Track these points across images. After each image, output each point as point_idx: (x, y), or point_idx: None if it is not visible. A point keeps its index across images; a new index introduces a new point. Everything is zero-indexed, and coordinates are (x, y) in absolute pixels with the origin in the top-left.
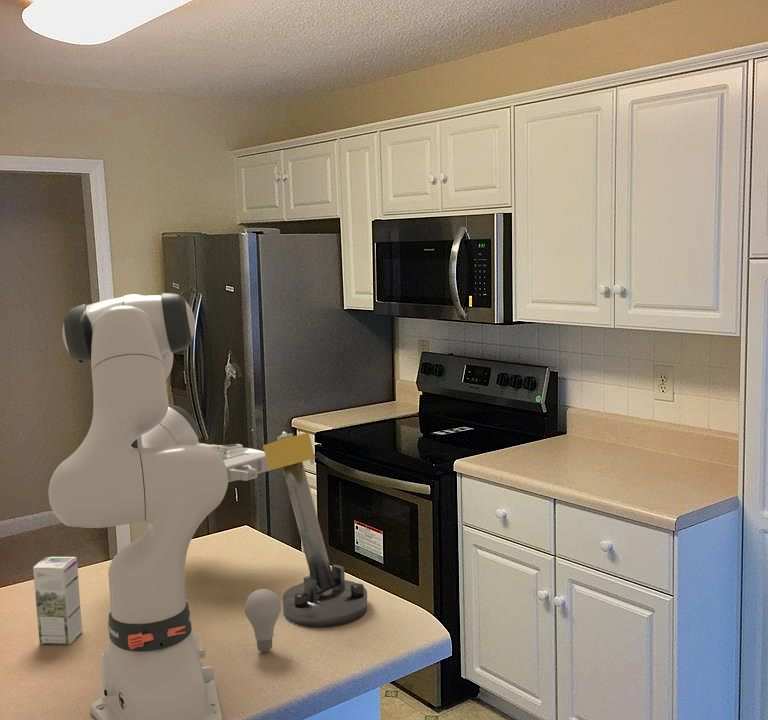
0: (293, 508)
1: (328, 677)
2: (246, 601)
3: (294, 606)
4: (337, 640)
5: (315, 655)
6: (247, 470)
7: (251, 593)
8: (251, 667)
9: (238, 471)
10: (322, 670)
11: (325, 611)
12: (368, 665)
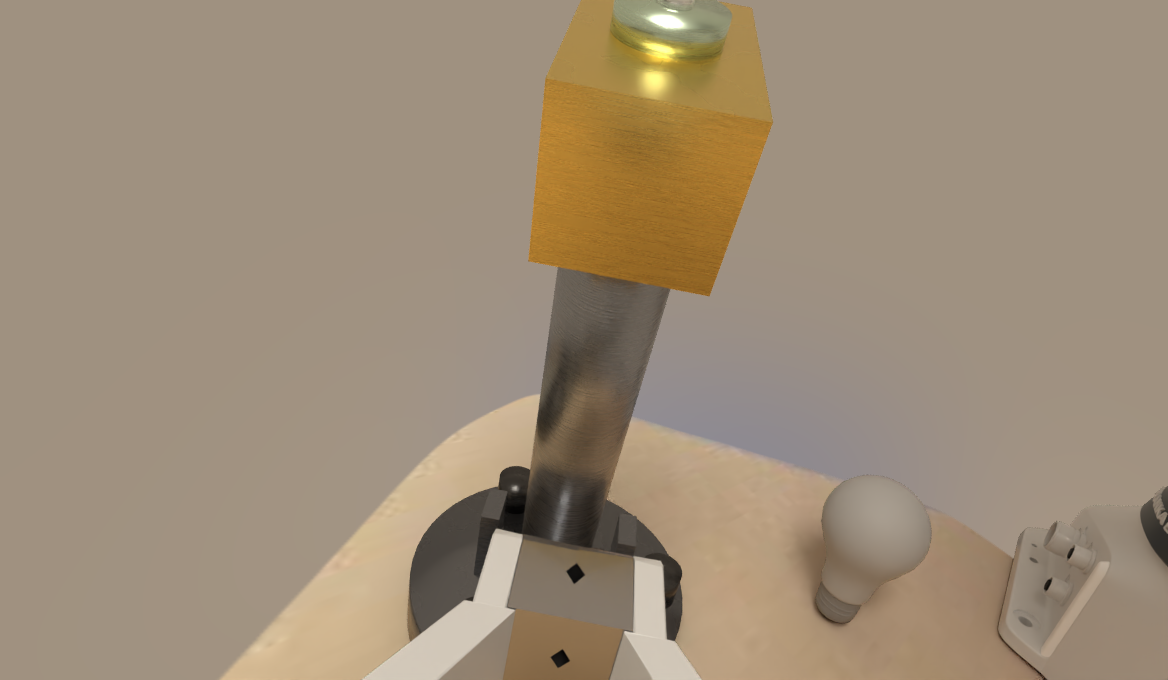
0: (635, 396)
1: (785, 475)
2: (930, 533)
3: (671, 606)
4: (669, 514)
5: (749, 522)
6: (589, 588)
7: (913, 521)
8: (892, 602)
9: (688, 666)
10: (777, 490)
11: (643, 525)
12: (705, 444)
